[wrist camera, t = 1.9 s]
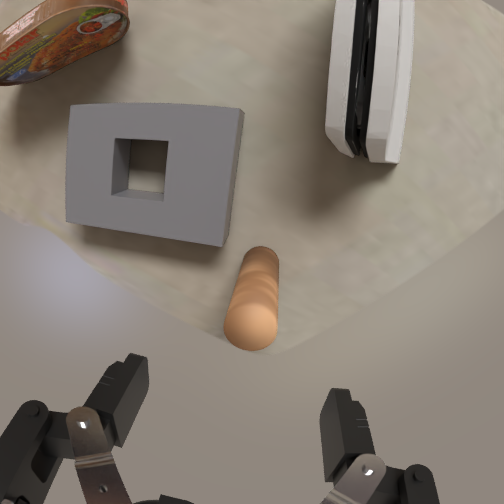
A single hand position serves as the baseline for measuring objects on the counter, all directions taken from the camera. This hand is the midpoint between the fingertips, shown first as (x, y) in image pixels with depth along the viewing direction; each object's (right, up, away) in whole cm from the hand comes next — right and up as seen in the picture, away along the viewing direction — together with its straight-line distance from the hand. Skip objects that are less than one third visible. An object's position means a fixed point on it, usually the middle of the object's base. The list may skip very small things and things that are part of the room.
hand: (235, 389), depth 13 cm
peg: (+1, +5, +14) cm, 15 cm away
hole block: (-7, +13, +12) cm, 19 cm away
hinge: (+10, +21, +8) cm, 25 cm away
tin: (-16, +25, +9) cm, 31 cm away
